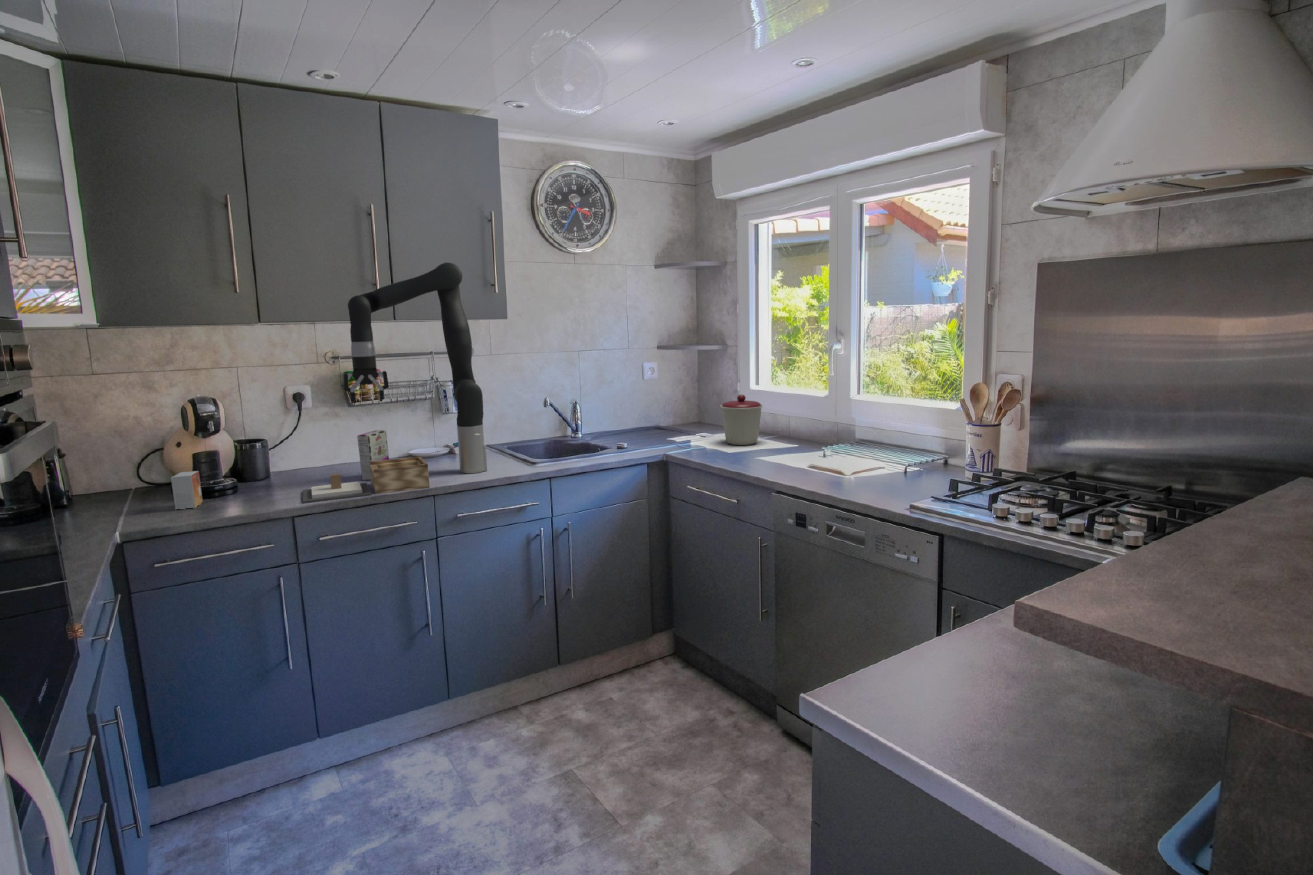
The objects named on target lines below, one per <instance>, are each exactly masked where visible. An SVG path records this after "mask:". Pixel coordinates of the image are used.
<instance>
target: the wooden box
mask: <svg viewBox="0 0 1313 875" xmlns="http://www.w3.org/2000/svg"><path fill="white" fill-rule="evenodd" d="M370 472H371V480H370V482H371V486H372V489H373V491H374V493H375V495H378V494H387V493H396V492H403V491H404V492H405V491H412V490H422V489H427V488H429V489H430V488H431V487H430V477H429V466H428V462H426V461H425V459H423V457H422V456H413V457H411V456H410V457H405V458H404V457H403V458H402V457H401V458H392V459H389V460H381V461H372V462H370Z"/></svg>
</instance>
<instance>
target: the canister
mask: <svg viewBox="0 0 1313 875" xmlns="http://www.w3.org/2000/svg"><path fill="white" fill-rule="evenodd" d="M736 398H737V399H736V400H730V401H725V402H723V403H722V404H720V406H719V407H720V408H721V413H722V414H721V415H722V422H723V430H724V431H723V432H724V437H725V441H726V442H727V443H728V444H729V445H733V446H751V445H754V444H756V443H757V441H758V440H759V435H760V434H759V432H760V425H761V414H762V408H763V407H764V405H763V404H761V403H760V402H758V401H756V400H755V401H754V400H746V395H744V394H738V395H737V397H736Z"/></svg>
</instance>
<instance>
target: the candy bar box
mask: <svg viewBox="0 0 1313 875" xmlns="http://www.w3.org/2000/svg"><path fill="white" fill-rule="evenodd" d="M356 439H357V443H358V444H357V445H358V455H359V463H360V473H361V479H362V481H371V472H370V462H372V461H381V460H390V457H389V456H390V455H389V447H388V439H387V430H385V429H375V430H372V431H367V432H365V433H361V434H357V438H356Z"/></svg>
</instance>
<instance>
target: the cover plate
mask: <svg viewBox="0 0 1313 875" xmlns="http://www.w3.org/2000/svg"><path fill="white" fill-rule="evenodd" d="M329 477H330V480H329V481H330V484H324V485H317V486H311V488H310V489H312V499H314V498H323V497H331V496H340V495H348V494H357V493H362V488H361V485H360V483H361V482H360V481H351V482H344V483H343V482H342V480H341V473H340V472H339V473H330V474H329Z"/></svg>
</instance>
